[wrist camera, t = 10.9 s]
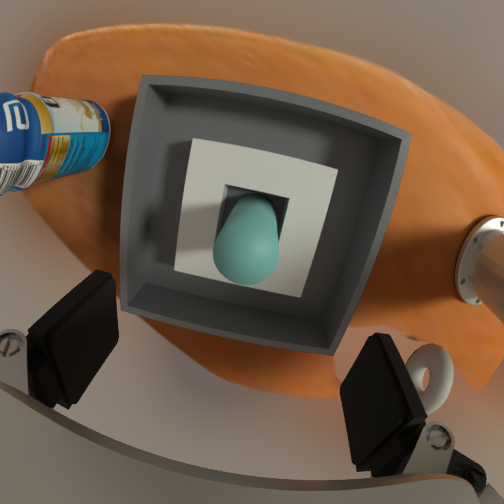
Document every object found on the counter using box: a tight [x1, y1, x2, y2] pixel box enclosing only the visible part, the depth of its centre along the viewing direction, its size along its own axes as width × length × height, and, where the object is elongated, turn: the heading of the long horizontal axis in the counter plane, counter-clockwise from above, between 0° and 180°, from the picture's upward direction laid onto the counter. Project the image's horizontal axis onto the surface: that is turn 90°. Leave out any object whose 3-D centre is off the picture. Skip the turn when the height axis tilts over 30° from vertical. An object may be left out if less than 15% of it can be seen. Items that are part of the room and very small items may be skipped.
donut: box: [405, 343, 454, 414], centre depth 28 cm, size 10×3×10 cm, turn 168°
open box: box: [120, 75, 412, 356], centre depth 24 cm, size 22×22×6 cm
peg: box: [213, 193, 279, 285], centre depth 21 cm, size 4×4×10 cm
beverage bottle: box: [0, 92, 111, 196], centre depth 15 cm, size 8×8×20 cm
